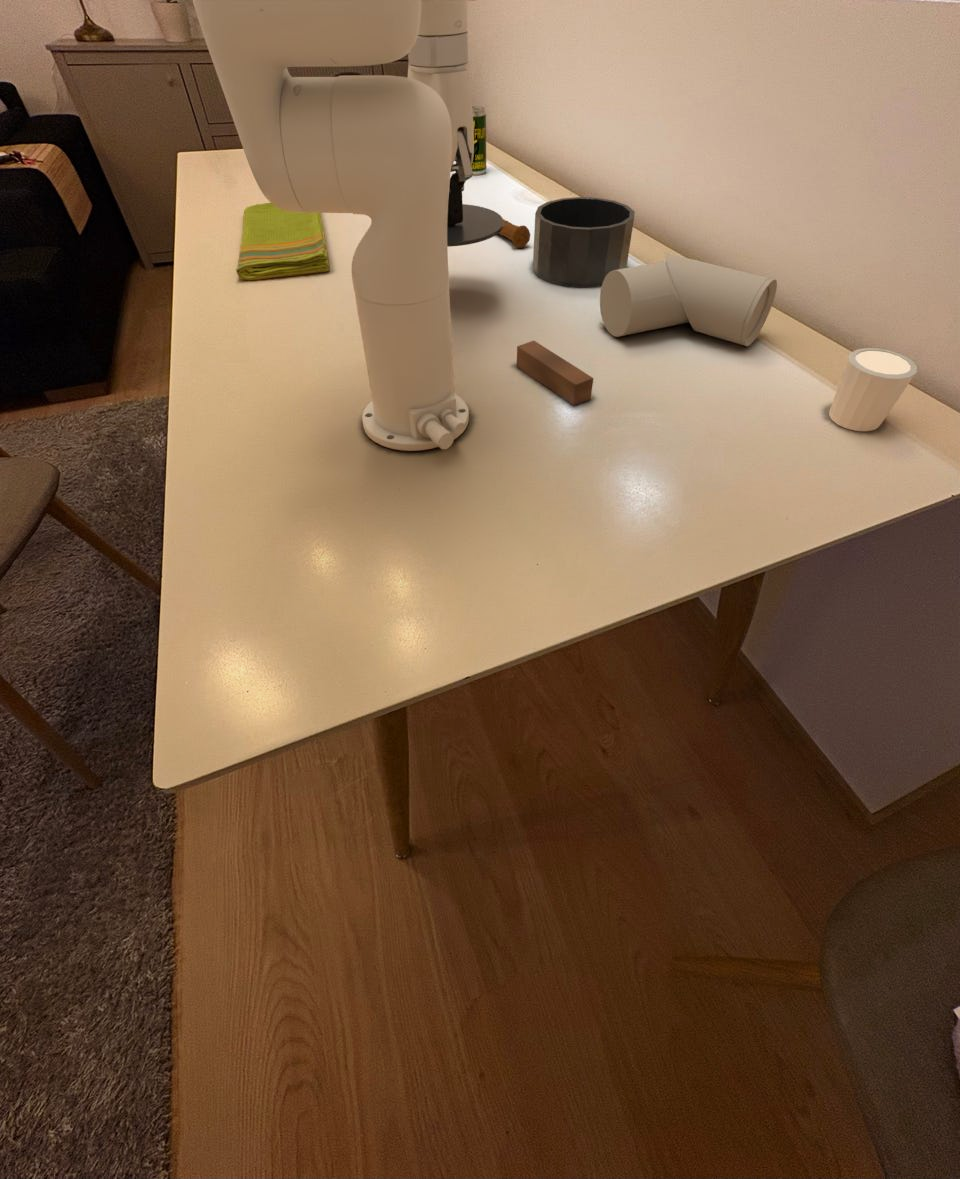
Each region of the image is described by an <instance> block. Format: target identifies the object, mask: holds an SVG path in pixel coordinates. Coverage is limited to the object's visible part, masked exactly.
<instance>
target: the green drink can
mask: <svg viewBox="0 0 960 1179" xmlns="http://www.w3.org/2000/svg"><path fill="white" fill-rule="evenodd" d="M472 112H473V127H474V155H473V161H472V163H471V168H472V172H473V175H472V176H480V175H484V174H485V173H486V171H487V112H486V107H484V106H482V105H481V106H480V105H472Z"/></svg>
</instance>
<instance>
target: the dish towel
mask: <svg viewBox="0 0 960 1179" xmlns="http://www.w3.org/2000/svg"><path fill="white" fill-rule="evenodd" d="M242 216H243V218H242V235H241V243H240V250H239V254H238V261H237V266H236V269H235V271H236V274H237V276H238V277H239V279H241V280H245V281H257V280H265V279H273V278H283V277H289V276H299V275H308V274H315V273H326V272H328V271H330V260H329V258H330V257H329V254H328V248H327V242H326V236H325V230H324V227H323V221H322V215H321V213H302V212H291V211H286V210H282V209H280V208H278V207H276V206H274V205H273V204H272V203H271V202H265V203H257V204H253V205H249V206H247V207H245V209H244V210H243V215H242Z"/></svg>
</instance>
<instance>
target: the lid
mask: <svg viewBox="0 0 960 1179" xmlns="http://www.w3.org/2000/svg"><path fill="white" fill-rule="evenodd" d="M462 204H463V221H462V222H461V223H458V224H454V225H450V226H447V248H448V247H461V246H467V245H472V244H477V243H482V242H485V241H487V240H489V239H491V238H494V237H495V236H497V235H499V234H498V233H499V232H500V231H501V230H502V229H503V224H504V223H503V219H504V218H503V216H501V214H499V213H498V212H496V211H495V210H492V209H490V208H487V207H483V206H480V205H474V204H465V203H462Z"/></svg>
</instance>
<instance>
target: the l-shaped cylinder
mask: <svg viewBox="0 0 960 1179" xmlns="http://www.w3.org/2000/svg"><path fill="white" fill-rule="evenodd" d="M664 258H665V260H664V261H659V262H653V263H647V264H642V265H636V266H631V267H630V266H629V267H626V268H624V269H618V270H613V271H611V272H609V273H608V274H607V275H606V277H605V279H604V281H603V284H602V286H600V287H601V288H600V293H599V308H600V316H601V319H602V323H603V325H604V327H605V329H606V331H607V332H608V333H609V335H611V336H613V337H615V338H619V337H625V336H629V335H633V334H639V333H643V332H648V331H653V330H657V329H662V328H669V327H672V326H678V325H683V324H687V323H689V324H690V326H691V328H692V330H693V331H694V332H697V333H700V334H703V335H707V336H711V337H714V338H717V339H721V340H724V341H727V342H730V343H734V344H738V345H741V346H745V347H749V346H751V345H752V343H754V341H755V340H756V339H757V337H758V335H759V334H760V332H761V331H762V329H763V327H764V325H765V323H766V321H767V318H768V316H769V314H770V311H771V310H772V306H773V304H774V300H775V298H776V294H777V288H778V281H777V279H775V278H770V277H766V276H763V275H758V274H754V273H751V272H747V271H742V270H737V269H733V268H729V267H725V266H723V265H722V266H721V265H717V264H713V263H709V262H705V261H701V260H696V259H693V258H688V257H685V256H680V255H676V254H672V253H669V252H664Z"/></svg>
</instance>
